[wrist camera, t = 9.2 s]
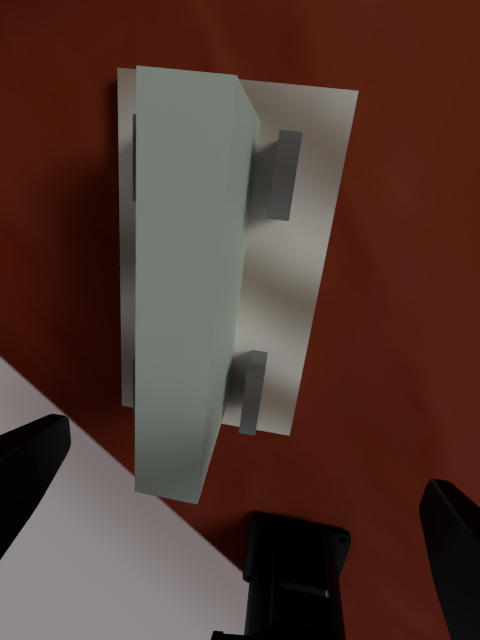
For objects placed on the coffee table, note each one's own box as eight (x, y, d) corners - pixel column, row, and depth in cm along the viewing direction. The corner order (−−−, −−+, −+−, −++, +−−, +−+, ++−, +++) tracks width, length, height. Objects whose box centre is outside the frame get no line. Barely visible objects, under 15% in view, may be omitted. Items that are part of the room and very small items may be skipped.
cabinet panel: (289, 424, 21) (289, 475, 18) (128, 396, 22) (96, 438, 19) (354, 96, 15) (374, 68, 11) (127, 74, 16) (77, 41, 12)
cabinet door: (227, 401, 20) (197, 504, 14) (184, 393, 20) (134, 491, 14) (260, 121, 15) (236, 75, 9) (202, 115, 15) (136, 65, 9)
